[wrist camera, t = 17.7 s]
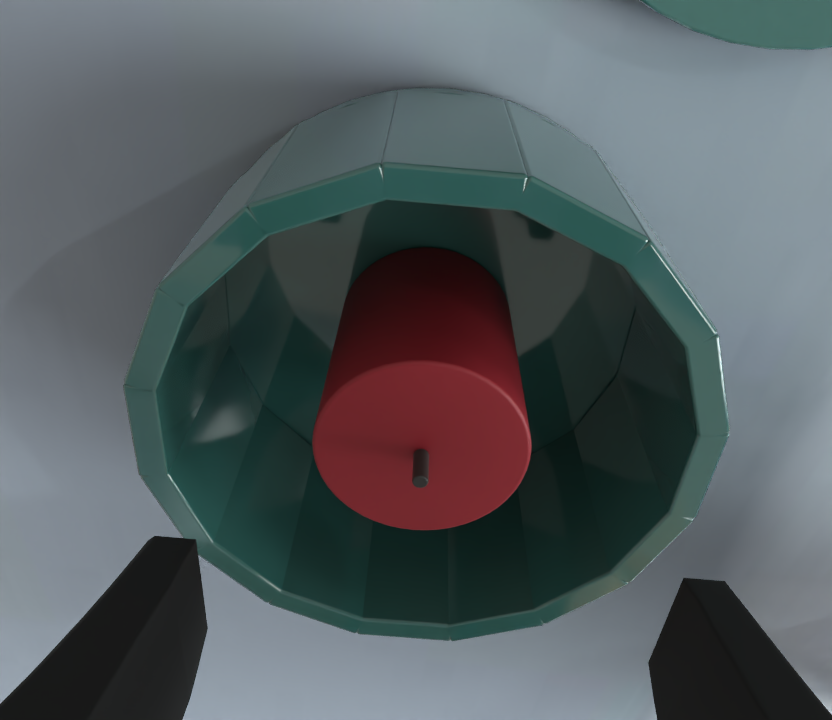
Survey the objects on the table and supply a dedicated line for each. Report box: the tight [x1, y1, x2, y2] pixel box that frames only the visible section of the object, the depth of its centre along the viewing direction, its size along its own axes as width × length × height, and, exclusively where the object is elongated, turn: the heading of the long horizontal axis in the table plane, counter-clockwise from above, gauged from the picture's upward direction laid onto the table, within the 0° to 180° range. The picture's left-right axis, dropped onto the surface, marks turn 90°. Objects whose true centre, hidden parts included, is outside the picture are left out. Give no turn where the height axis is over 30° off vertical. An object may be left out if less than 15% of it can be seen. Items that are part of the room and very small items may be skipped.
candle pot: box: [123, 88, 730, 641], centre depth 16 cm, size 11×11×6 cm
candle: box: [312, 247, 531, 530], centre depth 15 cm, size 4×4×6 cm
